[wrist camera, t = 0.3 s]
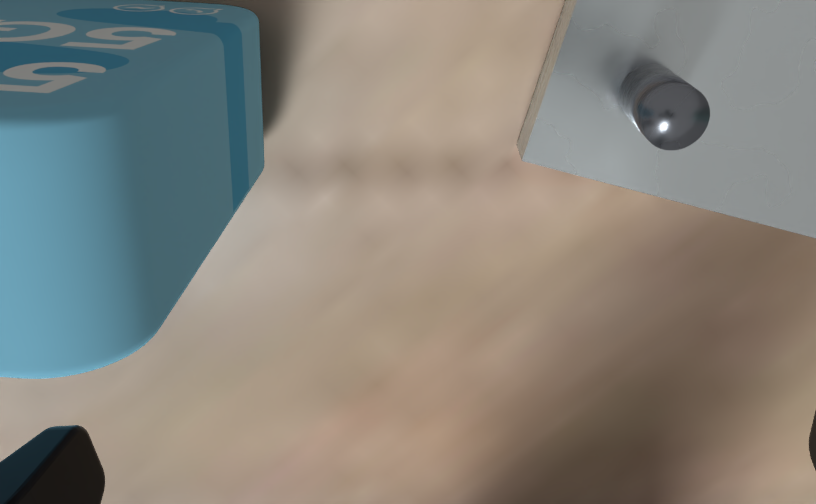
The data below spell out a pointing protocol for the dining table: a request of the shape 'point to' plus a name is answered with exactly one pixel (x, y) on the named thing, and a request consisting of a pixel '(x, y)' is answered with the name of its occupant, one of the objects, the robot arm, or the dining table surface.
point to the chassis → (685, 104)
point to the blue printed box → (116, 168)
